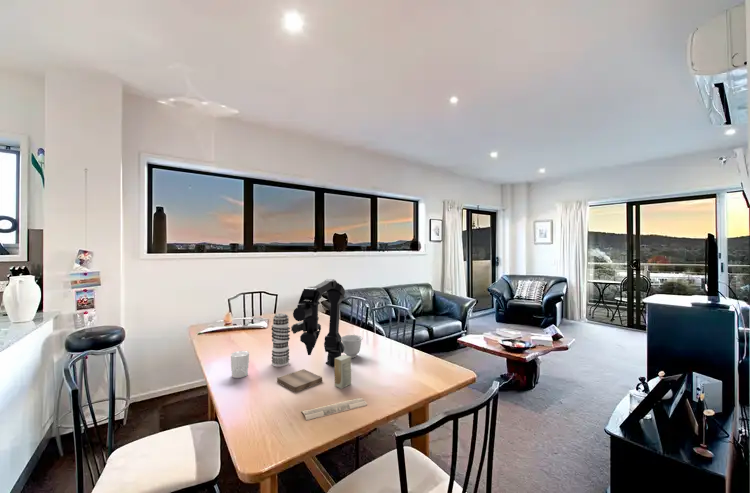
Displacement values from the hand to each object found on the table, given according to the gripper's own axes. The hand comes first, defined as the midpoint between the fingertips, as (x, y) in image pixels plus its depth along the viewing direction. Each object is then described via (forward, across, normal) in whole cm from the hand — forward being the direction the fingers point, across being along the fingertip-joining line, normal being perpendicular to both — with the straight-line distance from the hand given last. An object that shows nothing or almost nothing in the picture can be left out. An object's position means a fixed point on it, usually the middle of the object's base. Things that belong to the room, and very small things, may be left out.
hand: (311, 351), depth 142 cm
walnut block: (+14, 0, -5) cm, 15 cm away
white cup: (+14, -8, -34) cm, 38 cm away
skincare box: (+14, +3, +14) cm, 20 cm away
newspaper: (+14, +24, +13) cm, 31 cm away
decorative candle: (+14, -23, -19) cm, 33 cm away
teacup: (+14, -35, +17) cm, 41 cm away
